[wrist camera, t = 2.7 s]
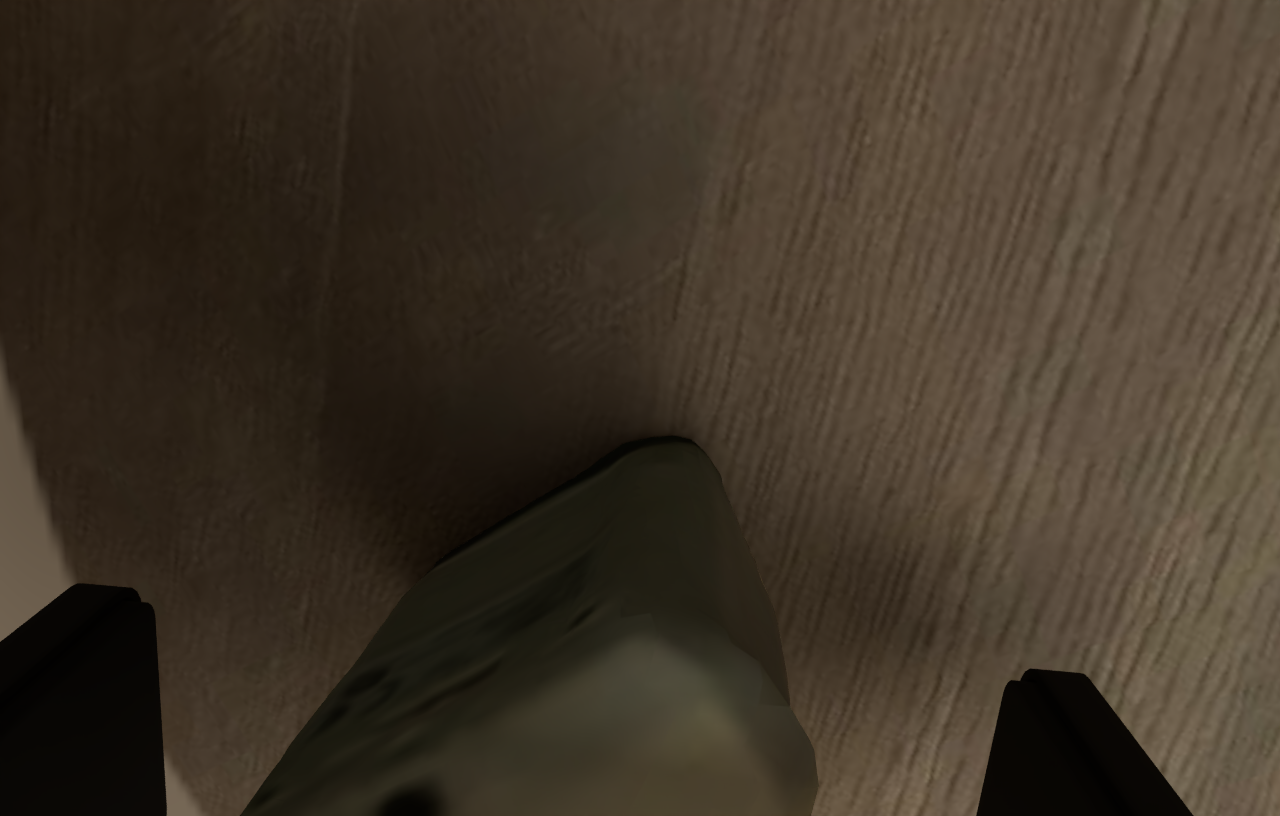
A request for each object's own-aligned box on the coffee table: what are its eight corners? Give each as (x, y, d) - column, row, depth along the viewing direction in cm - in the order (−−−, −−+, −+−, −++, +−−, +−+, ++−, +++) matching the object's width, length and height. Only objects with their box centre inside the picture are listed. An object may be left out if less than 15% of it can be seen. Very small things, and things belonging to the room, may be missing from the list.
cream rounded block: (500, 301, 14) (314, 529, 6) (821, 444, 15) (999, 811, 7) (365, 622, 16) (87, 1111, 8) (660, 741, 16) (662, 1304, 9)
